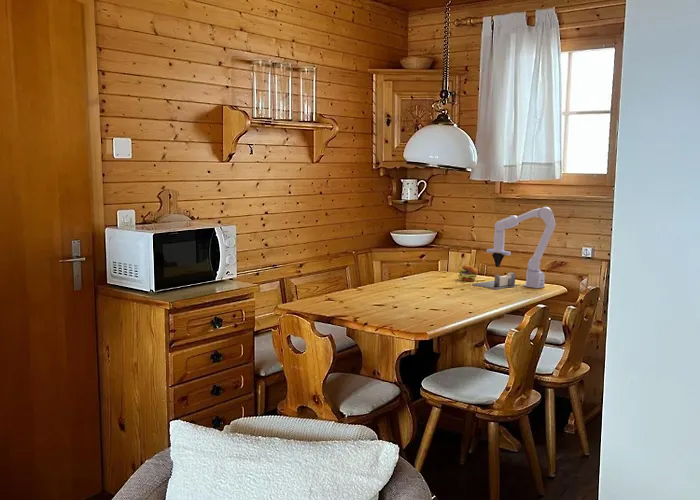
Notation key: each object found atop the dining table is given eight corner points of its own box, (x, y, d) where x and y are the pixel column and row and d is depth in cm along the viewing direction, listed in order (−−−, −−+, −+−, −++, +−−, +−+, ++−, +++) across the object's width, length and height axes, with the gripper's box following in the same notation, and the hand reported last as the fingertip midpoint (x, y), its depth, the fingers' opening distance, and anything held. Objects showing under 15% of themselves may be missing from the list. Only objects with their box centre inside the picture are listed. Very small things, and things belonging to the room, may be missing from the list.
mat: (517, 286, 383) (517, 285, 383) (496, 289, 370) (496, 288, 370) (493, 281, 395) (493, 280, 395) (472, 285, 382) (472, 283, 382)
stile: (517, 285, 382) (518, 273, 381) (510, 286, 378) (511, 274, 377) (510, 283, 386) (510, 272, 385) (503, 285, 382) (504, 273, 381)
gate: (499, 286, 375) (500, 275, 374) (496, 285, 377) (497, 274, 376) (511, 284, 382) (511, 273, 381) (508, 284, 383) (508, 273, 382)
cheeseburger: (453, 279, 398) (457, 262, 398) (468, 282, 403) (472, 265, 403) (463, 281, 389) (467, 264, 389) (478, 285, 394) (483, 268, 394)
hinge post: (499, 287, 375) (500, 275, 374) (496, 287, 373) (497, 275, 372) (495, 286, 377) (496, 274, 376) (493, 286, 375) (493, 275, 374)
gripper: (514, 243, 384) (512, 267, 386) (492, 240, 394) (491, 264, 396) (507, 244, 379) (505, 269, 381) (485, 241, 390) (483, 265, 391)
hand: (497, 266), depth 388 cm, fingers closed
